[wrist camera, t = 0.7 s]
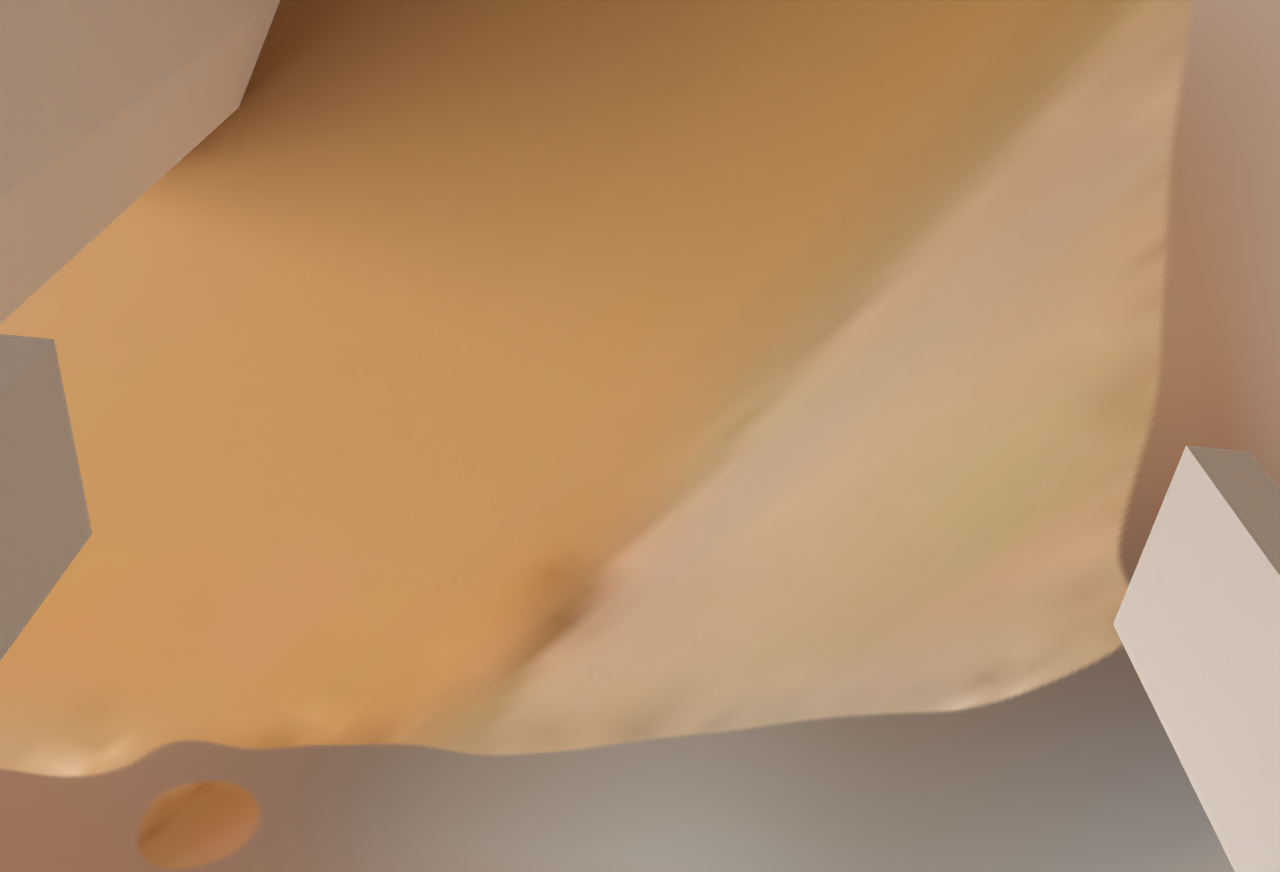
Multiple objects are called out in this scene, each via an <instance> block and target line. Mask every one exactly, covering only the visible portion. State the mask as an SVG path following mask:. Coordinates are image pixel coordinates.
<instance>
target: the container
mask: <svg viewBox="0 0 1280 872" xmlns="http://www.w3.org/2000/svg"><path fill="white" fill-rule="evenodd" d="M279 2H280V0H0V323H1V322H3V321H4V320H5V319H6V318H7V317H8V316H9V315H10V314H11V313H13V312H14V311H15V310H16V309H17V308H18V307H19V306H20V305H21V304H22V303H24V302H25V301H26V300H27V299H28V298H29V297H30V296H31V295H32V294H33V293H35V292H36V291H37V290H38V289H39V288H40V287H41V286H42V285H43V284H45V283H46V282H47V281H48V280H49V279H50V278H51V277H52V276H53V275H54V274H56V273H57V272H58V271H59V270H60V269H61V268H62V267H63V266H64V265H66V264H67V263H68V262H69V261H70V260H71V259H72V258H73V257H74V256H75V255H77V254H78V253H79V252H80V251H81V250H82V249H83V248H84V247H85V246H86V245H88V244H89V243H90V242H91V241H92V240H93V239H94V238H95V237H96V236H98V235H99V234H100V233H101V232H102V231H103V230H104V229H105V228H106V227H107V226H109V225H110V224H111V223H112V222H113V221H114V220H115V219H116V218H117V217H119V216H120V215H121V214H122V213H123V212H124V211H125V210H126V209H127V208H128V207H130V206H131V205H132V204H133V203H134V202H135V201H136V200H137V199H138V198H139V197H141V196H142V195H143V194H144V193H145V192H146V191H147V190H148V189H149V188H151V187H152V186H153V185H154V184H155V183H156V182H157V181H158V180H159V179H160V178H162V177H163V176H164V175H165V174H166V173H167V172H168V171H169V170H170V169H172V168H173V167H174V166H175V165H176V164H177V163H178V162H179V161H180V160H181V159H183V158H184V157H185V156H186V155H187V154H188V153H189V152H190V151H191V150H192V149H194V148H195V147H196V146H197V145H198V144H199V143H200V142H201V141H202V140H204V139H205V138H206V137H207V136H208V135H209V134H210V133H211V132H212V131H213V130H215V129H216V128H217V127H218V126H219V125H220V124H221V123H222V122H223V121H225V120H226V119H227V118H228V117H229V116H230V115H231V114H232V113H233V112H234V111H236V110H237V109H238V108H239V106H240V104H241V101H242V98H243V96H244V93H245V91H246V88H247V85H248V83H249V80H250V78H251V75H252V72H253V70H254V67H255V65H256V62H257V59H258V57H259V54H260V52H261V49H262V47H263V44H264V41H265V39H266V36H267V34H268V31H269V28H270V26H271V23H272V21H273V18H274V15H275V13H276V10H277V8H278V5H279Z"/></svg>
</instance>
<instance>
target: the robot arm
mask: <svg viewBox="0 0 1280 872" xmlns="http://www.w3.org/2000/svg"><path fill="white" fill-rule="evenodd" d="M91 534H92V531H91V526H90V521H89V516H88V511H87V506H86V501H85V496H84V490H83V485H82V480H81V475H80V470H79V465H78V460H77V455H76V450H75V445H74V440H73V434H72V429H71V424H70V419H69V414H68V409H67V404H66V399H65V394H64V389H63V383H62V378H61V373H60V368H59V363H58V358H57V353H56V348H55V343H54V339H45V338H35V337H24V336H13V335H3V334H0V660H1V659H2V658H3V656H4V655H5V653H6V652H7V651H8V649H9V648H10V646H11V645H12V644H13V642H14V641H15V640H16V638H17V637H18V635H19V634H20V633H21V631H22V630H23V628H24V627H25V626H26V624H27V623H28V622H29V620H30V619H31V617H32V616H33V615H34V613H35V612H36V610H37V609H38V608H39V606H40V605H41V603H42V602H43V601H44V599H45V598H46V597H47V595H48V594H49V592H50V591H51V590H52V588H53V587H54V585H55V584H56V583H57V581H58V580H59V579H60V577H61V576H62V574H63V573H64V572H65V570H66V569H67V567H68V566H69V565H70V563H71V562H72V560H73V559H74V558H75V556H76V555H77V554H78V552H79V551H80V549H81V548H82V547H83V545H84V544H85V542H86V541H87V540H88V538H89V537H90V536H91ZM1113 625H1114V627H1115V629H1116V631H1117V633H1118V635H1119V637H1120V639H1121V641H1122V643H1123V646H1124V648H1125V650H1126V652H1127V654H1128V656H1129V658H1130V660H1131V662H1132V663H1133V666H1134V668H1135V670H1136V672H1137V674H1138V676H1139V678H1140V680H1141V682H1142V684H1143V686H1144V688H1145V690H1146V692H1147V694H1148V696H1149V698H1150V700H1151V702H1152V704H1153V706H1154V708H1155V710H1156V713H1157V714H1158V717H1159V719H1160V721H1161V723H1162V725H1163V727H1164V729H1165V731H1166V733H1167V735H1168V737H1169V739H1170V741H1171V743H1172V745H1173V747H1174V749H1175V751H1176V753H1177V755H1178V757H1179V759H1180V761H1181V763H1182V765H1183V767H1184V769H1185V771H1186V773H1187V775H1188V778H1189V780H1190V782H1191V784H1192V786H1193V788H1194V790H1195V792H1196V794H1197V796H1198V798H1199V800H1200V802H1201V804H1202V806H1203V808H1204V810H1205V812H1206V814H1207V816H1208V818H1209V820H1210V822H1211V824H1212V826H1213V828H1214V830H1215V832H1216V834H1217V836H1218V838H1219V840H1220V842H1221V844H1222V846H1223V848H1224V851H1225V853H1226V855H1227V857H1228V859H1229V861H1230V863H1231V865H1232V867H1233V869H1234V871H1235V872H1280V488H1279V487H1278V486H1277V484H1276V483H1275V482H1274V481H1273V479H1272V478H1271V477H1270V476H1269V474H1268V473H1267V472H1266V471H1265V469H1264V468H1263V467H1262V466H1261V464H1260V463H1259V462H1258V461H1257V459H1256V458H1255V457H1254V456H1253V454H1252V453H1251V452H1250V451H1239V450H1227V449H1217V448H1206V447H1196V446H1186V447H1185V450H1184V452H1183V455H1182V457H1181V460H1180V462H1179V465H1178V467H1177V470H1176V472H1175V474H1174V477H1173V479H1172V482H1171V484H1170V487H1169V489H1168V492H1167V494H1166V496H1165V499H1164V501H1163V504H1162V506H1161V509H1160V511H1159V513H1158V516H1157V519H1156V521H1155V523H1154V526H1153V528H1152V531H1151V533H1150V535H1149V538H1148V540H1147V543H1146V546H1145V548H1144V550H1143V553H1142V555H1141V558H1140V560H1139V562H1138V565H1137V568H1136V570H1135V572H1134V575H1133V577H1132V579H1131V582H1130V584H1129V587H1128V589H1127V592H1126V594H1125V597H1124V599H1123V601H1122V604H1121V606H1120V609H1119V611H1118V614H1117V616H1116V619H1115V621H1114V624H1113Z"/></svg>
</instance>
